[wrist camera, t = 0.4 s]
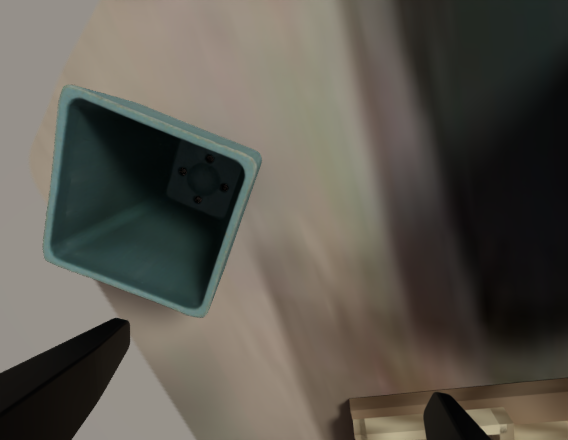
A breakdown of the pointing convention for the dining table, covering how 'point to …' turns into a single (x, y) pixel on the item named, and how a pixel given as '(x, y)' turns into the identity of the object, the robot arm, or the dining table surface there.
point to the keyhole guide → (471, 412)
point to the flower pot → (144, 199)
